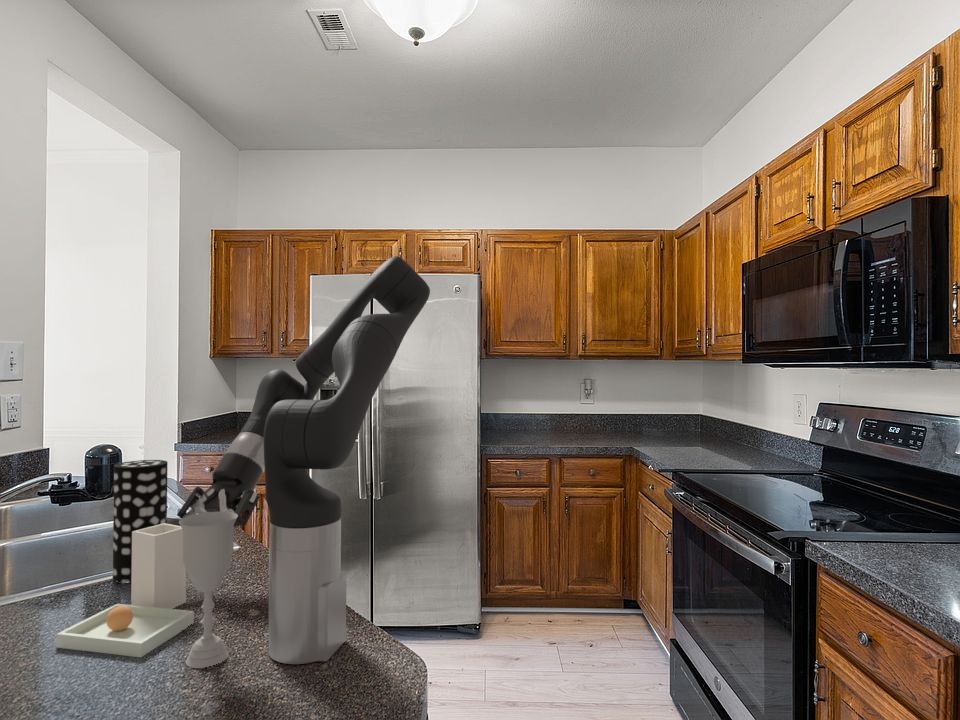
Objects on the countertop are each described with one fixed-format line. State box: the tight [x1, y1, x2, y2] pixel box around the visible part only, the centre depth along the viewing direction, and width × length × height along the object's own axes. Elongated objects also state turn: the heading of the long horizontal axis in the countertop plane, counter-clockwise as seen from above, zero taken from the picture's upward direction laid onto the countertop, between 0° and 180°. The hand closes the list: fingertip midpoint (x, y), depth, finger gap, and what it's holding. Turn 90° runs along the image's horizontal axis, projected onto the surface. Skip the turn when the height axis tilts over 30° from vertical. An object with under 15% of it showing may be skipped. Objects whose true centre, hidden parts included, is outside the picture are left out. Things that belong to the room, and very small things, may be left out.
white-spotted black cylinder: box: [112, 459, 169, 582], centre depth 105 cm, size 8×8×20 cm
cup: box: [130, 523, 187, 609], centre depth 92 cm, size 5×5×12 cm
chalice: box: [178, 512, 238, 669], centre depth 76 cm, size 7×7×18 cm
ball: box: [106, 606, 133, 631], centre depth 82 cm, size 3×3×3 cm
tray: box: [55, 603, 195, 658], centre depth 82 cm, size 13×10×2 cm
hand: (195, 545), depth 96 cm, fingers open, 8 cm apart
